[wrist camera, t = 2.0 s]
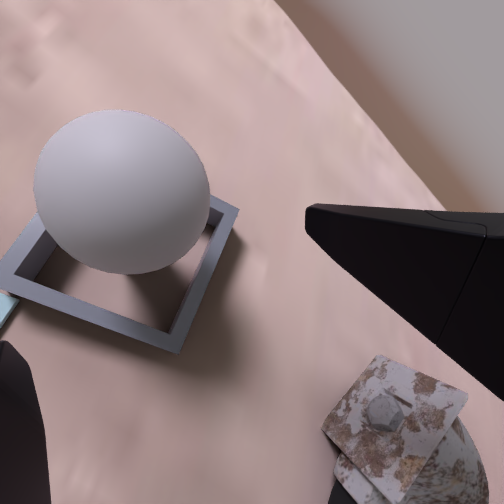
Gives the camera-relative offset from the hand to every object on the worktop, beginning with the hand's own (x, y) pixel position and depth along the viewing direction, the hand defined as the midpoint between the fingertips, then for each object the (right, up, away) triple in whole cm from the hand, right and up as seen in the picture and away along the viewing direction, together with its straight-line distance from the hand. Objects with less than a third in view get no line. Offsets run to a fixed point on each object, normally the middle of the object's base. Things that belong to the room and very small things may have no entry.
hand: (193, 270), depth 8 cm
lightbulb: (-6, +1, +10) cm, 12 cm away
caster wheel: (+10, -15, +12) cm, 21 cm away
